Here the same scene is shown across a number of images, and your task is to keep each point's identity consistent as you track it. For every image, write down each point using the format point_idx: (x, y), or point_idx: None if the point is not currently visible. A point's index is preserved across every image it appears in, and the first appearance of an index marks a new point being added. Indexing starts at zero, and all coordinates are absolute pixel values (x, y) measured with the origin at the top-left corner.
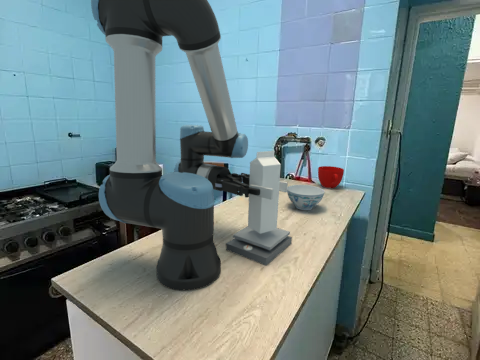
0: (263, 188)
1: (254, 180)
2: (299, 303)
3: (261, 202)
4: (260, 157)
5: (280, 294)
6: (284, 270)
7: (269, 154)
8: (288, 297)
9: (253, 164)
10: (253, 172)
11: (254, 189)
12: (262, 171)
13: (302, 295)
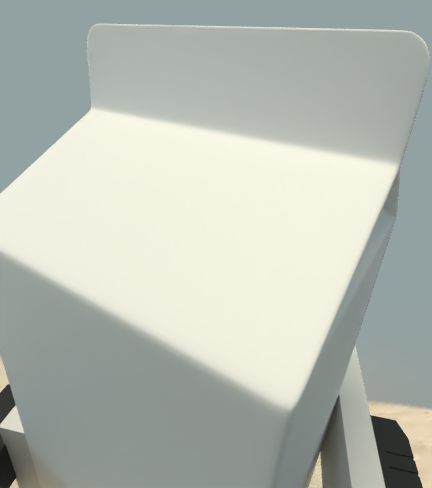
0: (361, 376)
1: (303, 475)
2: (414, 407)
3: (311, 477)
4: (315, 146)
5: (429, 453)
6: (321, 470)
7: (157, 83)
8: (420, 433)
9: (338, 336)
10: (311, 433)
11: (409, 459)
12: (376, 275)
13: (384, 406)
